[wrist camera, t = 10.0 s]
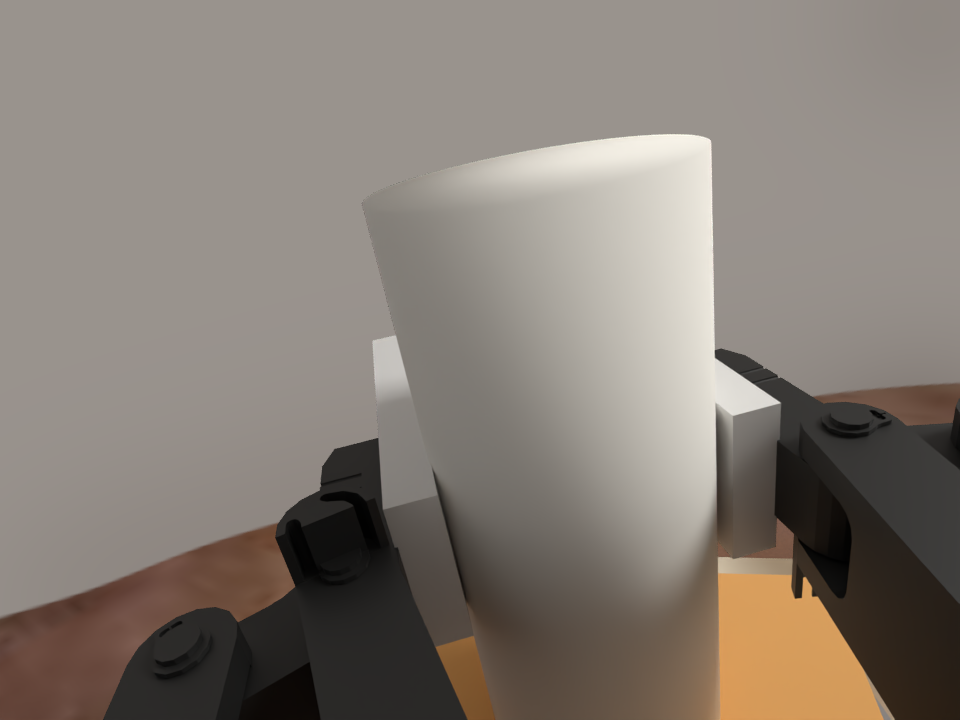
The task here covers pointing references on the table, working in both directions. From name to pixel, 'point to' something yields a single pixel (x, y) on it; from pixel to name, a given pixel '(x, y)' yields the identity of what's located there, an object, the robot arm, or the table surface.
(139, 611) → the table surface
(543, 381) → the block
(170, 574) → the table surface
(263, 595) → the table surface
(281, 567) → the table surface
